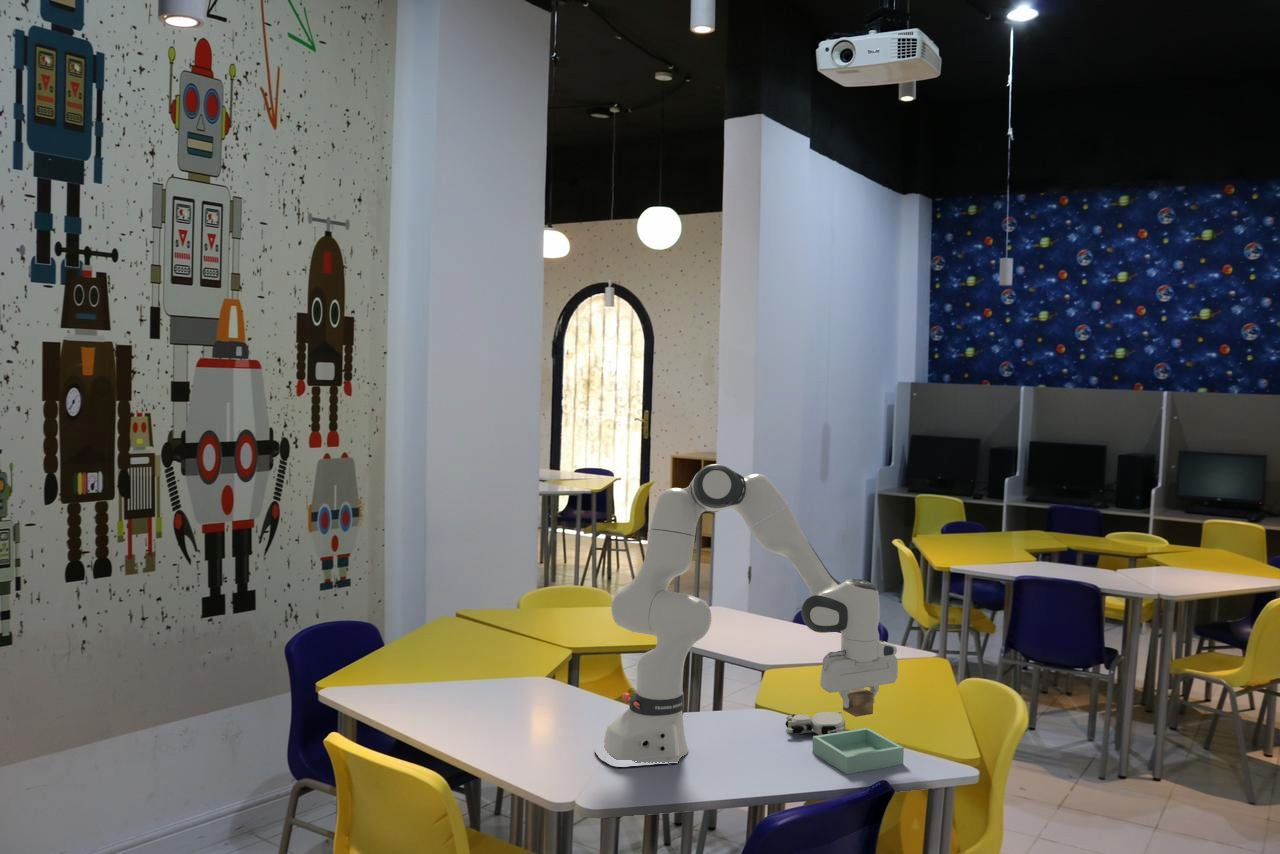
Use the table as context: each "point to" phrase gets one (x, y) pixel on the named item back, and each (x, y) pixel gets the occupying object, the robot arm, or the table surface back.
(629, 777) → the table surface
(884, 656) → the robot arm
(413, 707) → the table surface
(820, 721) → the robot toy
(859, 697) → the block
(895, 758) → the tray
